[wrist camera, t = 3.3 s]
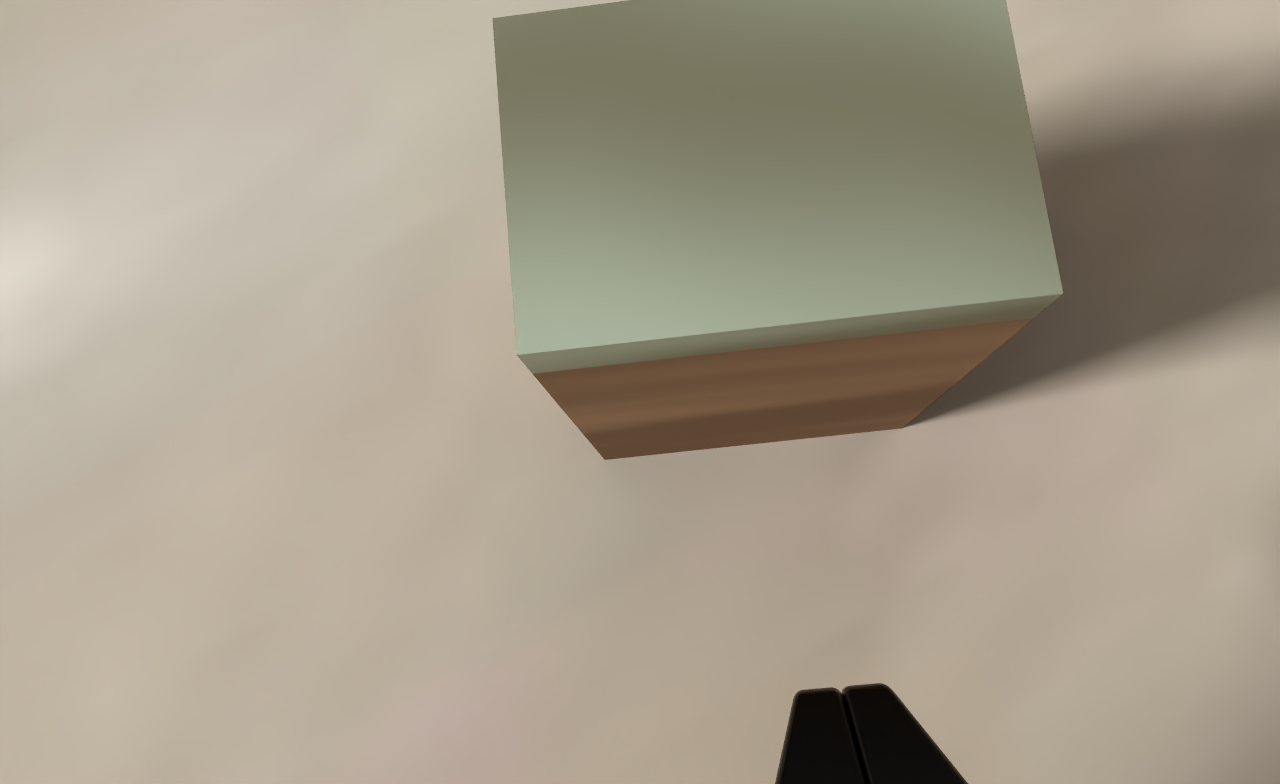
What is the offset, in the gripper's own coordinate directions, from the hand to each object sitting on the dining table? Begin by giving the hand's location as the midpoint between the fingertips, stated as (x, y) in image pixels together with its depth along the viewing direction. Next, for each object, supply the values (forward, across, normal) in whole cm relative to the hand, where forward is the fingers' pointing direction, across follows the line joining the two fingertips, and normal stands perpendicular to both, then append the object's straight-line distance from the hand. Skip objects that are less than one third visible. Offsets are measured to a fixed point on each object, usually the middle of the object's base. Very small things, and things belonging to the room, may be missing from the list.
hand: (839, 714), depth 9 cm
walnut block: (+8, 0, +1) cm, 9 cm away
